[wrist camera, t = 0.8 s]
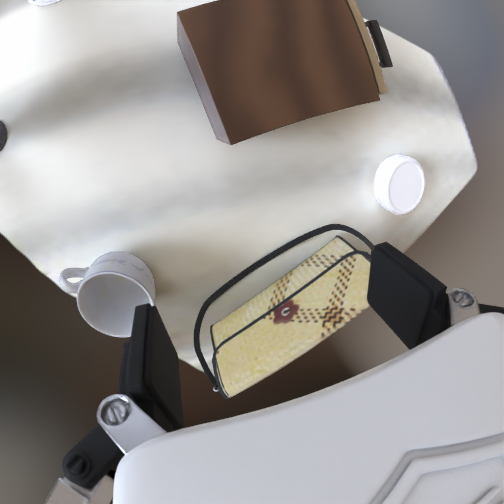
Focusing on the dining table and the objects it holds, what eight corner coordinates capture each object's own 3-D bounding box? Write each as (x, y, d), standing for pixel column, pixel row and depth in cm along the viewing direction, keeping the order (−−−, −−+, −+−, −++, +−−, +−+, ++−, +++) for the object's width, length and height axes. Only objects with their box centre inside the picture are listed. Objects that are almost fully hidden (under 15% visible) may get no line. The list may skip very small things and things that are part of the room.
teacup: (171, 267, 40) (170, 299, 33) (137, 316, 42) (133, 351, 35) (90, 217, 33) (71, 241, 26) (64, 274, 36) (46, 305, 29)
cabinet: (301, 12, 27) (339, -14, 18) (334, 101, 34) (380, 100, 25) (177, 42, 26) (176, 12, 17) (217, 139, 33) (230, 145, 24)
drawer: (346, 11, 27) (382, -5, 19) (374, 89, 33) (414, 88, 26) (204, 35, 26) (212, 9, 18) (240, 126, 32) (259, 127, 25)
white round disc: (401, 142, 39) (415, 145, 36) (419, 187, 44) (432, 192, 41) (363, 176, 40) (376, 181, 37) (385, 220, 45) (397, 227, 42)
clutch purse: (332, 204, 41) (394, 245, 28) (349, 237, 45) (405, 283, 32) (180, 315, 44) (186, 389, 31) (207, 337, 47) (221, 408, 34)
